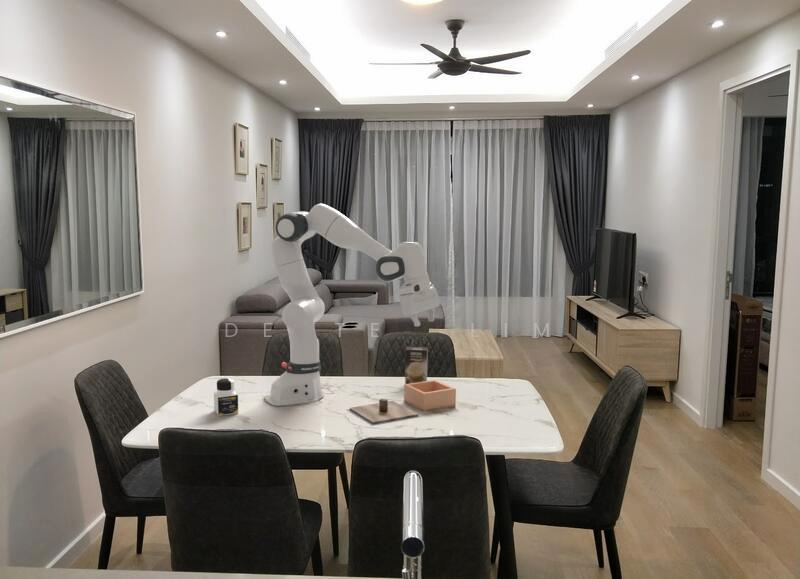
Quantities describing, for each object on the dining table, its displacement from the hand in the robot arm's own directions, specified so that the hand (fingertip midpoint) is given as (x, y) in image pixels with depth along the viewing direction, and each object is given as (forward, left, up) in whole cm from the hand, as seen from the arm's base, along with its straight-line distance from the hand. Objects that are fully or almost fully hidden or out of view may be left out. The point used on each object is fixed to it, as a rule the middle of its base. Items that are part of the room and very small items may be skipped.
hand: (424, 323), depth 233 cm
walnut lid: (-15, +3, -32) cm, 35 cm away
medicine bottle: (-63, +33, -33) cm, 78 cm away
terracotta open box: (+6, +5, -32) cm, 33 cm away
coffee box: (+15, +29, -33) cm, 46 cm away
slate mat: (-15, +3, -32) cm, 36 cm away
